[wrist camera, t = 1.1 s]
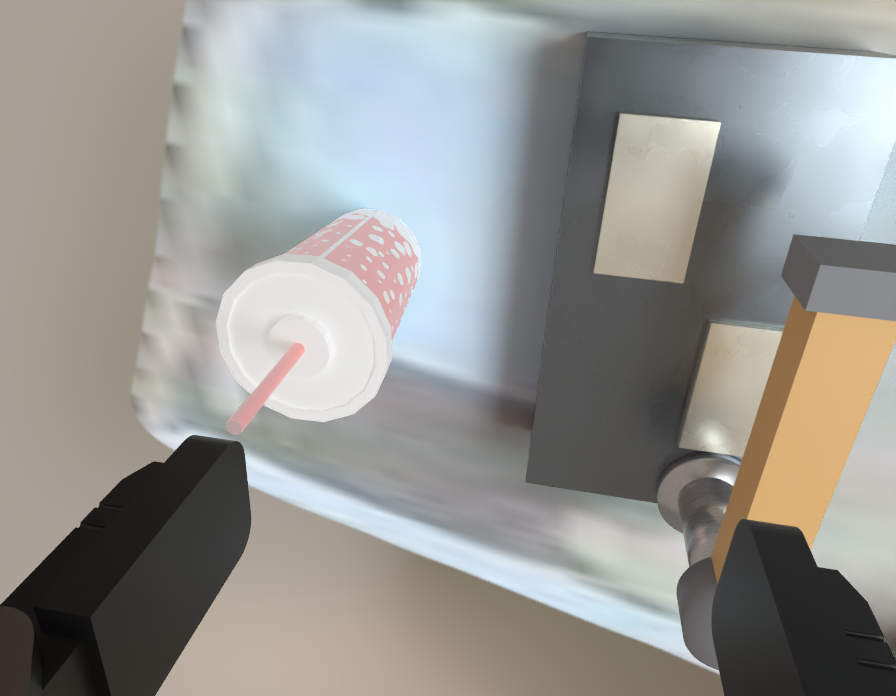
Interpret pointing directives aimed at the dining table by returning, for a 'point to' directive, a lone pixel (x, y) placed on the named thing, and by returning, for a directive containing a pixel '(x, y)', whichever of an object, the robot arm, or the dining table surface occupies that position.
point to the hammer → (805, 405)
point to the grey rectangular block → (692, 255)
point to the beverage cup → (319, 319)
